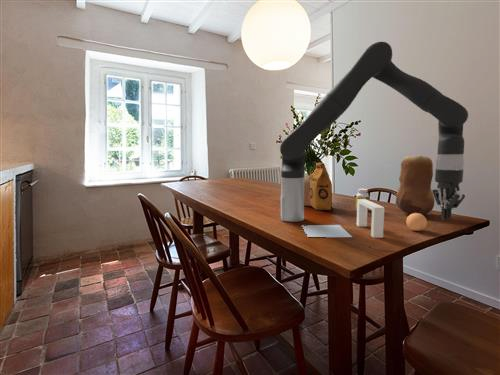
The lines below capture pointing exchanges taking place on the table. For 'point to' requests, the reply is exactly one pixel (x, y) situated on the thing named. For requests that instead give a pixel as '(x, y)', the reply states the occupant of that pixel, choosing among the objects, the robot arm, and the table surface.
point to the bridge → (377, 217)
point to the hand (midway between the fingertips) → (445, 219)
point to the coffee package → (320, 188)
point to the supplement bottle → (362, 195)
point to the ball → (416, 221)
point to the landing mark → (325, 231)
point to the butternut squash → (415, 185)
